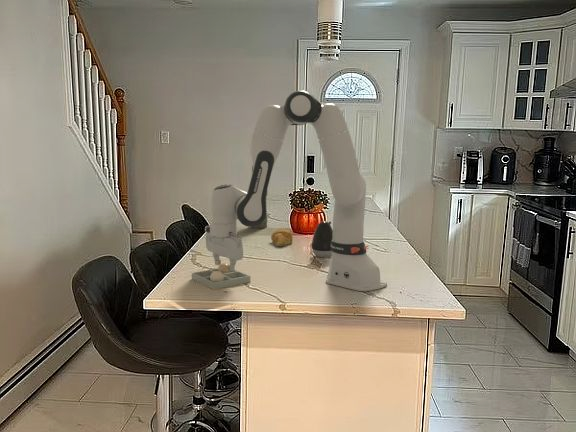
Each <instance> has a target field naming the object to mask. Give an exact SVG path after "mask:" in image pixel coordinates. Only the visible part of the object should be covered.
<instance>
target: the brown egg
mask: <svg viewBox="0 0 576 432" xmlns="http://www.w3.org/2000/svg"><path fill="white" fill-rule="evenodd" d="M229 265H230V264H228V263H221V265H218V268H217V269H218V271H220V272H221V273H223V274H224V273H230V272H231V271H230V270H228V266H229Z"/></svg>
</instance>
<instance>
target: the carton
mask: <svg viewBox="0 0 576 432" xmlns="http://www.w3.org/2000/svg"><path fill="white" fill-rule="evenodd" d="M214 271H218V268H212V269H207V270H202V271H196V272H191V280H193V281H194V282H197V283H198V284H200V285H202V286H205V287H207V288H209V289H211V290H216V289H217V290H218V289H222V288H228V287H233V286H239V285H242V284H248V283H251V275H249V274H247V273H244V272H242V271H240V270H237V269H235V270H234V271H231V272H230V273H224V274H223V275H224V281H218V282H212V281H210V275H211V274H212V273H213V272H214Z"/></svg>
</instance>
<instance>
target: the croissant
mask: <svg viewBox="0 0 576 432" xmlns="http://www.w3.org/2000/svg"><path fill="white" fill-rule="evenodd" d="M270 239H271V241H272V243H274V245H275V246H277V247H284V246H289V245H291V244H292V243H293V233H292V232H291V231H290V230H289V229H286V228H280V229H277V230H275V231H274V232H273V233H272V234H271V235H270Z"/></svg>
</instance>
